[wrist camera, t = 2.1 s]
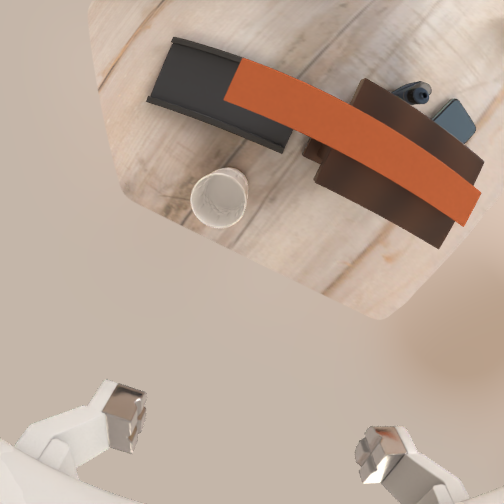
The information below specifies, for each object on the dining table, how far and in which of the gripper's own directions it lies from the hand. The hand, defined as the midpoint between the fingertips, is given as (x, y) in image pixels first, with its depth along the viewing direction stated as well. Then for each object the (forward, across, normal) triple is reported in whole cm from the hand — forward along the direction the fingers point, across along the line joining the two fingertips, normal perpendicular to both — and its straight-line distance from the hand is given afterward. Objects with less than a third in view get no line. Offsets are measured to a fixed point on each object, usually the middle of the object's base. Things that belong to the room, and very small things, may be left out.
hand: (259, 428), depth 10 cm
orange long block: (+17, -6, -13) cm, 22 cm away
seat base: (+43, +9, -20) cm, 48 cm away
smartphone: (+41, -28, -23) cm, 55 cm away
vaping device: (+41, -18, -27) cm, 53 cm away
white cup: (+46, +6, -5) cm, 46 cm away
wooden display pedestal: (+43, -11, -16) cm, 47 cm away
